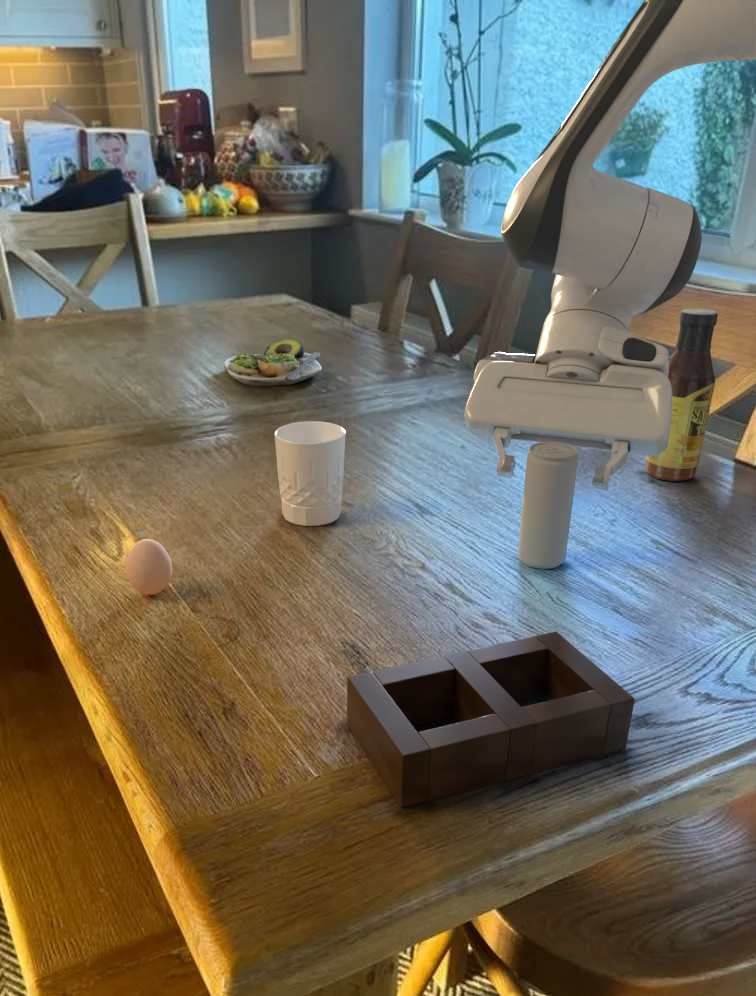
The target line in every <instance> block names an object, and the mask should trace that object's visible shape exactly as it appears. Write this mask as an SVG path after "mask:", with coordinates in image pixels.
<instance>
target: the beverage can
mask: <svg viewBox="0 0 756 996" xmlns="http://www.w3.org/2000/svg"><path fill="white" fill-rule="evenodd" d="M578 465H579V455H578V448H577V447H573V446H571V445H569V444H565V443H559V442H541V443H533V444H531V446H529V451H528V452H527V455H526V465H525V475H524V476H525V477H524V485H523V495H522V505H521V514H520V515H521V517H520V527H519V536H518V547H517V557H518V558H519V560H520V562H522V564H524V565H525V566H527V567H529V568H533V569H540V570H549V569H555V568H558V567H559V566H560V565H562V564H563V563H564V561H565V560H566V558H567V550H568V544H569V543H568V541H569V534H570V527H571V519H572V512H573V511H572V510H573V503H574V495H575V488H576V479H577V472H578V471H577V470H578Z"/></svg>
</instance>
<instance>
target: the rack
mask: <svg viewBox="0 0 756 996" xmlns="http://www.w3.org/2000/svg"><path fill="white" fill-rule="evenodd" d="M539 697H543V698H544V699H545V700H546V701H543V702H538V703H534V704H529V705H526V706H521V705H520V704H519V703H518V702H522V701H526V700H531V699H534V698H539ZM346 699H347V700H346V712H347V713H346V726H347V727H348V729H349V730H350V732H351V733H352V735H353V736H354V738H355V739H356V741H357V743H358V744H359V745H360V747H361V749H362V750H363V752H364V753H365V755H366V756H367V758H368V759H369V761H370V763H371V764H372V765H373V767H374V769H375V770H376V772H377V773H378V775H379V776H380V778H381V779H382V781H383V782H384V784H385V785H386V787H387V789H388V790H389V792H390V793H391V795H392V796H393V798H394V799H395V801H396V803H397V804H398V806H399V807H400V808H401V809H404V808H407V807H411V806H414V805H418V804H422V803H425V802H430V801H434V800H437V799H441V798H445V797H449V796H452V795H456V794H461V793H464V792H467V791H471V790H475V789H479V788H483V787H486V786H490V785H494V784H497V783H501V782H502V783H503V782H505V781H510V780H514V779H518V778H521V777H525V776H529V775H533V774H535V773H540V772H543V771H548V770H550V769H554V768H558V767H562V766H566V765H570V764H573V763H577V762H581V761H584V760H588V759H592V758H596V757H599V756H603V755H609V754H611V753H615V752H619V751H623V750H626V749H627V743H628V740H629V739H628V738H629V732H630V727H631V722H632V717H633V711H634V706H635V701H636V700H635V699H636V698H635V697H634V696H633V695H632V694H630V693H629V692H628V691H627V690H625V689H624V688H623V687H622V686H621V685H619V683H617V682H616V681H615V680H614V679H612V677H610V676H609V675H608V673H606V672H604V671H603V670H602V669H601V668H599V666H597V665H596V664H595V663H594V662H593V661H592V660H590V659H589V658H588V657H587V656H586V655H585V654H584V653H582V652H581V651H580V650H579V649H578V648H576V646H574V645H573V644H571V642H569V641H568V640H567V639H566V638H565V637H564V636H563V635H561V634H560V633H559V632H558V631H551V632H547V633H542V634H538V635H533V636H528V637H525V638H520V639H515V640H510V641H505V642H502V643H497V644H492V645H486V646H483V647H477V648H473V649H468V650H463V651H459V652H454V653H449V654H445V655H441V656H437V657H432V658H428V659H427V658H426V659H423V660H418V661H414V662H409V663H405V664H401V665H395V666H390V667H387V668H382V669H377V670H372V671H367V672H363V673H358V674H353V675H348V676H347V677H346ZM450 718H453V720H454V721H455V723H451V724H446V725H443V726H439V727H434V728H430V729H426V730H421V731H417V730H416V729H415V727H416V726H420V725H424V724H428V723H433V722H437V721H442V720H445V719H450Z"/></svg>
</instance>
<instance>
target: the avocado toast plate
mask: <svg viewBox="0 0 756 996" xmlns="http://www.w3.org/2000/svg"><path fill="white" fill-rule="evenodd" d="M320 356H321V353H320V352H314V351H313V352H312V353H308V352H305V348H304V344H303V343H302V342H301V341H300V339H297V338H282V339H279V340H275V341H273V342H271V343H270V344H269V345H268V346H266V349H265V351H263V353H262V354H261V353H260V354H259V353H256V354H251V353H247V352H243V353H242V354H241V353H240V354H238V355H235V356H231V357H229V358H227V359H226V360H224V364H223V366H224V367H223V368H224V370H225V371H226V372H227V374H228V375H229V376H230V377H231V378H233V379H234V380H236V381H237V382H239V383H241V384H242V385H246V386H253V387H274V386H287V385H288V386H289V385H294V384H297V383H299V382H303V381H306V380H307V379H310V378H312V377H314V376H316V375H318V374H320V373H321V371H322V369H323V367H322V365H321V364H320V363H319V362H318V359H320Z"/></svg>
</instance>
